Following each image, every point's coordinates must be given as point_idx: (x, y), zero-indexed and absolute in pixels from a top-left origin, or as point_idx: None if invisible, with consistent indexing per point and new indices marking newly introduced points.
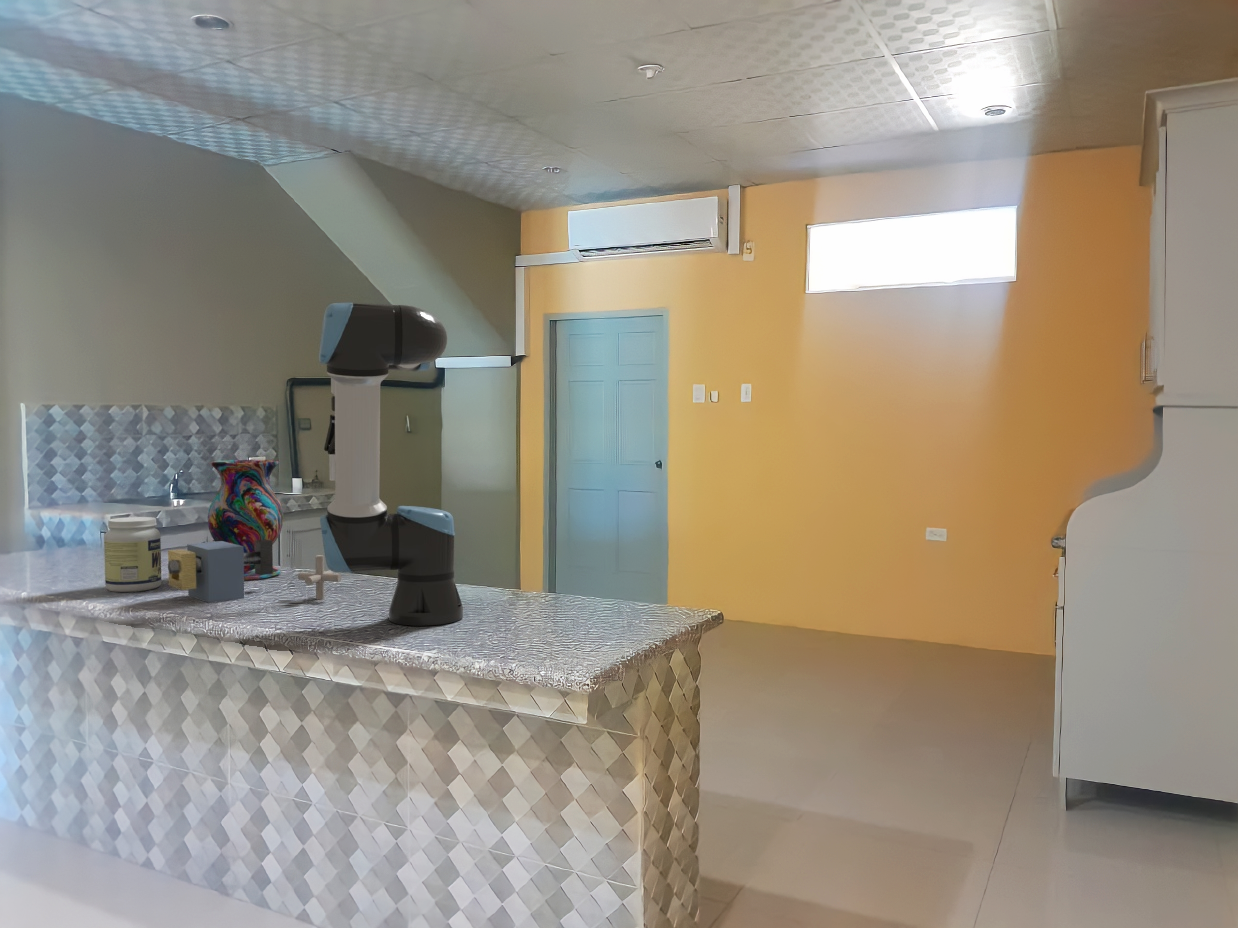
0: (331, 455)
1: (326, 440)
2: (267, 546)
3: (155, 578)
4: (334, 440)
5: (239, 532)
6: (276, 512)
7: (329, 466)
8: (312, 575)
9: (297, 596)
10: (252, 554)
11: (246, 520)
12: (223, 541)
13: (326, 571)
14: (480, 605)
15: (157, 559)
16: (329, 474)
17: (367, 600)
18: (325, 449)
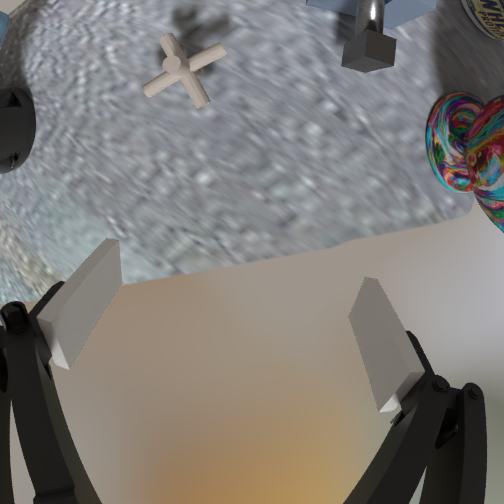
0: (405, 371)
1: (481, 436)
2: (361, 47)
3: (471, 6)
4: (391, 467)
5: (491, 104)
6: (498, 193)
7: (398, 320)
8: (190, 57)
9: (244, 60)
10: (363, 23)
11: (501, 114)
12: (427, 5)
13: (192, 89)
14: (25, 214)
15: (491, 7)
16: (385, 295)
17: (125, 123)
18: (470, 389)
